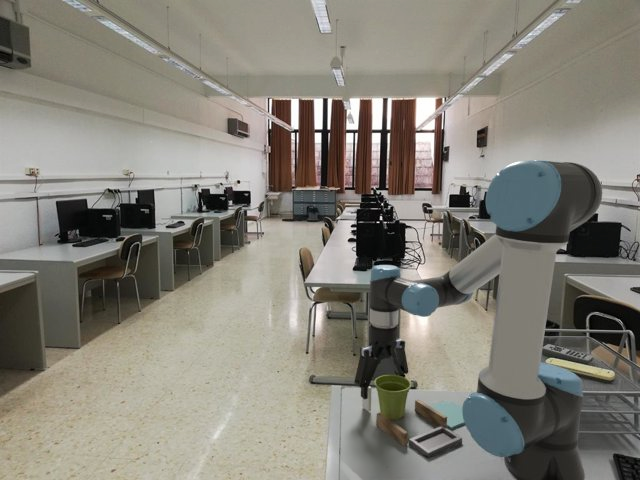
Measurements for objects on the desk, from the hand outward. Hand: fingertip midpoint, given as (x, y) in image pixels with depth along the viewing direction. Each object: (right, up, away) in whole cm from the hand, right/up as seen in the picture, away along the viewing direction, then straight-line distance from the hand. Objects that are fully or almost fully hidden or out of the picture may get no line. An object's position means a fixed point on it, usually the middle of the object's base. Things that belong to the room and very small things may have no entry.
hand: (381, 404), depth 116 cm
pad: (+17, -1, -4) cm, 18 cm away
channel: (+6, -2, -10) cm, 12 cm away
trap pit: (+10, -3, -16) cm, 20 cm away
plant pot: (+2, -1, -4) cm, 5 cm away
